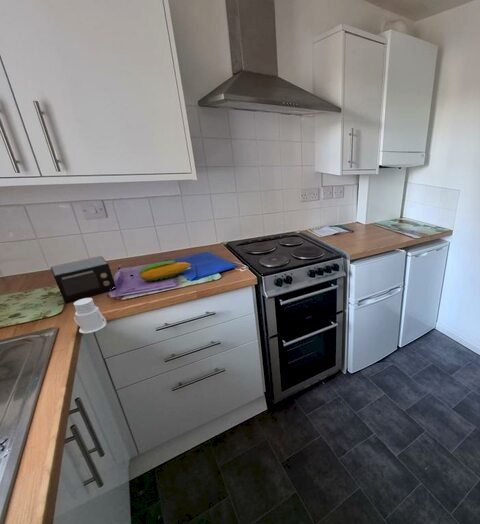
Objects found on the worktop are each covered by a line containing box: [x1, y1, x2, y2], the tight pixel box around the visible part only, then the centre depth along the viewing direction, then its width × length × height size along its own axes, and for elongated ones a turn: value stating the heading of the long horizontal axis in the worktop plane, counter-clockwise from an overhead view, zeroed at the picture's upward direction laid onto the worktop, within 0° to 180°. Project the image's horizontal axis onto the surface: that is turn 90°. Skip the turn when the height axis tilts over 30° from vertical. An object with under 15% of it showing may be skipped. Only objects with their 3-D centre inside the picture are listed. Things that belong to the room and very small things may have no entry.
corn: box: [139, 260, 192, 282], centre depth 133 cm, size 7×8×20 cm
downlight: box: [72, 297, 107, 334], centre depth 97 cm, size 8×7×10 cm
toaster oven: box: [50, 255, 117, 304], centre depth 119 cm, size 13×16×12 cm
